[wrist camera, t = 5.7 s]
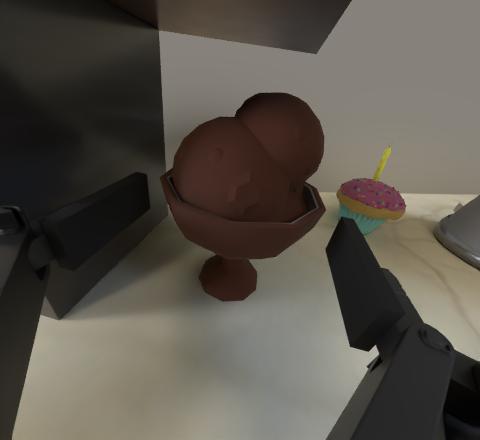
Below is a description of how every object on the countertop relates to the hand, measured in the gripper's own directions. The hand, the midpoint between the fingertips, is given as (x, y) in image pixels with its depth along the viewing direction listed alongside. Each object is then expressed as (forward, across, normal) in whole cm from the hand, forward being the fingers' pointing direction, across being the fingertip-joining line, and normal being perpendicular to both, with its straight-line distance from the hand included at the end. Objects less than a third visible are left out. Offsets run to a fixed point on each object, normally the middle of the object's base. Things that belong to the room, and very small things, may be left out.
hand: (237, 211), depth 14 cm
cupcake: (+17, +16, -8) cm, 25 cm away
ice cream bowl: (+1, 0, -8) cm, 8 cm away
